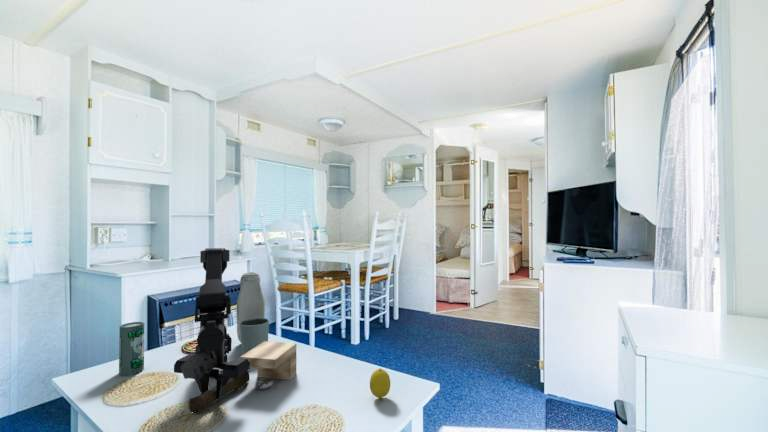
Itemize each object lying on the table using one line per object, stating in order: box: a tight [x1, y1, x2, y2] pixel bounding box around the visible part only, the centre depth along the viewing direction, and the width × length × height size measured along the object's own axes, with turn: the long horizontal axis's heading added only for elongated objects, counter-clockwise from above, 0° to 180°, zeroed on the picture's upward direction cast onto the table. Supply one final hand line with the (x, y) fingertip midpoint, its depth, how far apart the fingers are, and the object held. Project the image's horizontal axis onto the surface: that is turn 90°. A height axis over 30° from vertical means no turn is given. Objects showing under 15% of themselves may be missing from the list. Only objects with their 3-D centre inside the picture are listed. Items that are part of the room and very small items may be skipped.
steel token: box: [256, 377, 274, 393], centre depth 97 cm, size 4×4×2 cm
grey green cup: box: [240, 317, 270, 356], centre depth 122 cm, size 10×10×12 cm
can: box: [118, 321, 145, 377], centre depth 109 cm, size 6×6×15 cm
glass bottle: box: [236, 271, 266, 343], centre depth 134 cm, size 10×10×28 cm
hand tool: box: [188, 370, 250, 414], centre depth 92 cm, size 19×4×5 cm, turn 157°
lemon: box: [369, 368, 391, 400], centre depth 91 cm, size 6×6×8 cm
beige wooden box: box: [239, 340, 297, 380], centre depth 101 cm, size 11×13×10 cm
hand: (211, 398), depth 89 cm, fingers closed on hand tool, 4 cm apart
